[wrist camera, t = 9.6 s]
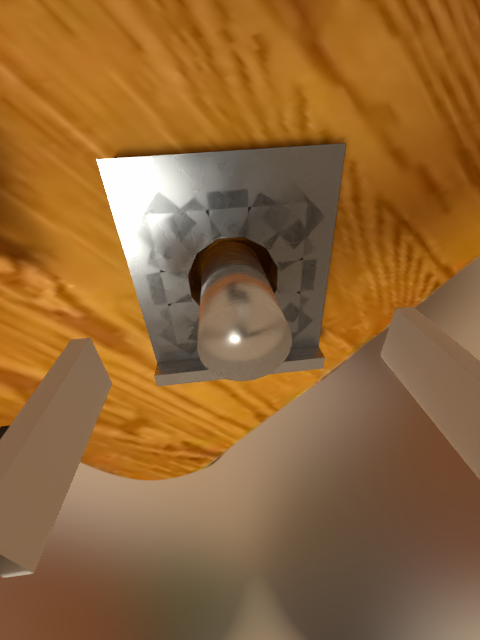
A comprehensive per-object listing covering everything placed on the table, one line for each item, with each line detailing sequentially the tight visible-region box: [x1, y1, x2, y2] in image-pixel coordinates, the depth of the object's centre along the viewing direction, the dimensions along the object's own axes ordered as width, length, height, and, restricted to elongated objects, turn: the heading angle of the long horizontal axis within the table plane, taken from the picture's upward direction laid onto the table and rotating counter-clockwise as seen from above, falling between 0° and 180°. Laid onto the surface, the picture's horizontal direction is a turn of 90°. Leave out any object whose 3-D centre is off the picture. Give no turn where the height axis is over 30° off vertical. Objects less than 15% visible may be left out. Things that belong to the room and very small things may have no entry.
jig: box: [97, 143, 346, 386], centre depth 19 cm, size 16×14×4 cm
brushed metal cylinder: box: [197, 241, 292, 381], centre depth 17 cm, size 5×5×10 cm
